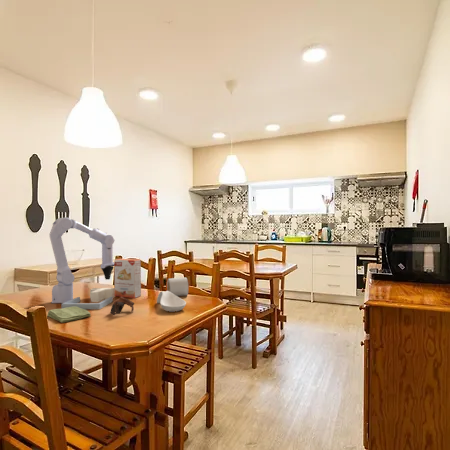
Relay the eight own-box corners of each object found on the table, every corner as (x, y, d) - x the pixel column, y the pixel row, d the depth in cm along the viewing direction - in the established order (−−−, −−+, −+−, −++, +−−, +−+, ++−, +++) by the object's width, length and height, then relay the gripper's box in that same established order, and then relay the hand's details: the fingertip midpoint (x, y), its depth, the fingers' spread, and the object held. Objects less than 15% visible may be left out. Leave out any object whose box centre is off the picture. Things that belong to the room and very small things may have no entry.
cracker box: (114, 296, 177) (113, 259, 178) (121, 294, 183) (121, 258, 183) (134, 298, 172) (134, 260, 172) (141, 296, 178) (141, 258, 178)
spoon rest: (190, 311, 144) (190, 296, 144) (165, 315, 138) (165, 299, 138) (171, 301, 164) (171, 287, 165) (149, 304, 158) (149, 290, 159)
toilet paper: (170, 298, 171) (170, 279, 172) (167, 294, 181) (167, 277, 181) (188, 296, 175) (188, 278, 175) (184, 293, 184) (184, 276, 184)
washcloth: (61, 325, 127) (60, 316, 127) (45, 317, 139) (45, 309, 139) (93, 318, 136) (93, 310, 136) (76, 311, 148) (76, 304, 148)
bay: (61, 309, 150) (61, 304, 150) (77, 301, 166) (77, 296, 166) (99, 309, 150) (99, 303, 150) (112, 301, 165) (112, 296, 165)
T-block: (83, 302, 165) (83, 292, 165) (93, 297, 177) (93, 288, 177) (106, 301, 165) (106, 292, 165) (114, 296, 177) (114, 287, 177)
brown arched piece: (111, 312, 146) (120, 295, 148) (129, 321, 146) (138, 304, 148) (104, 311, 135) (114, 294, 137) (124, 321, 134) (133, 303, 137)
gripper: (109, 256, 175) (109, 281, 175) (118, 254, 189) (119, 277, 189) (96, 256, 175) (96, 281, 175) (107, 254, 190) (107, 277, 189)
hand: (107, 279), depth 182 cm, fingers closed
